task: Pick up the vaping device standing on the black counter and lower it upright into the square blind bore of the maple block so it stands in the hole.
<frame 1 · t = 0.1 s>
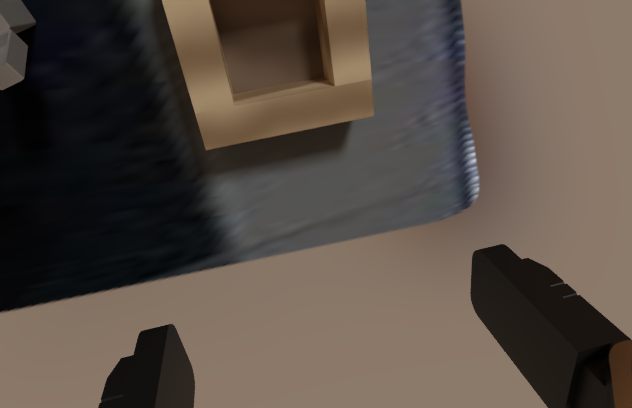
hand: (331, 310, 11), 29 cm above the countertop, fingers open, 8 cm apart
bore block: (269, 35, 35), on the countertop
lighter: (22, 20, 31), on the countertop
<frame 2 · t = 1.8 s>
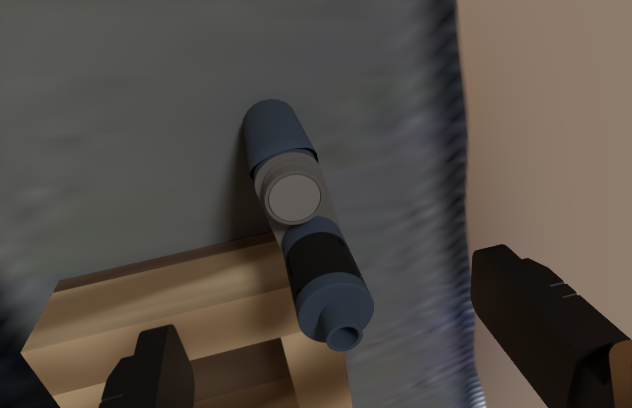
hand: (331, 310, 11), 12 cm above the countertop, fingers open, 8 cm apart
vaping device: (277, 143, 21), on the countertop
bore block: (221, 338, 27), on the countertop
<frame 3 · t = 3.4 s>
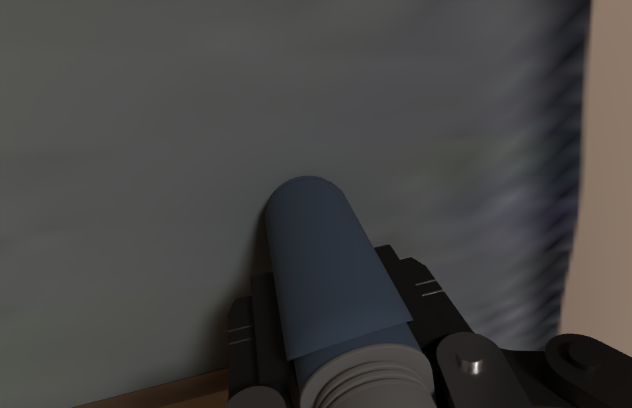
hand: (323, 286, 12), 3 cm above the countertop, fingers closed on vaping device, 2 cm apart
vaping device: (312, 234, 14), on the countertop, touching gripper
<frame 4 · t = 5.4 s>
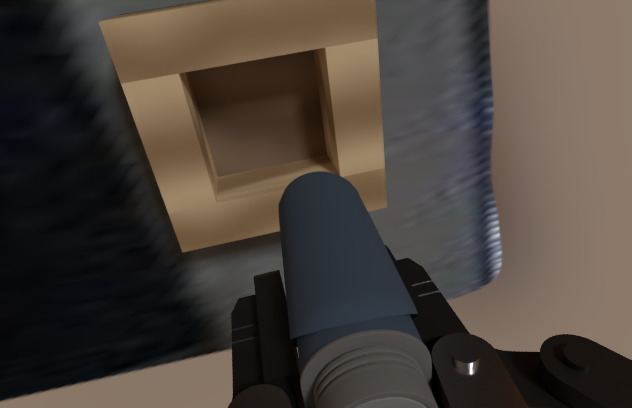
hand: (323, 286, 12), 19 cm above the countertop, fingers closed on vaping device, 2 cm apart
vaping device: (321, 230, 15), point 16 cm above the countertop, touching gripper
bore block: (260, 107, 29), on the countertop
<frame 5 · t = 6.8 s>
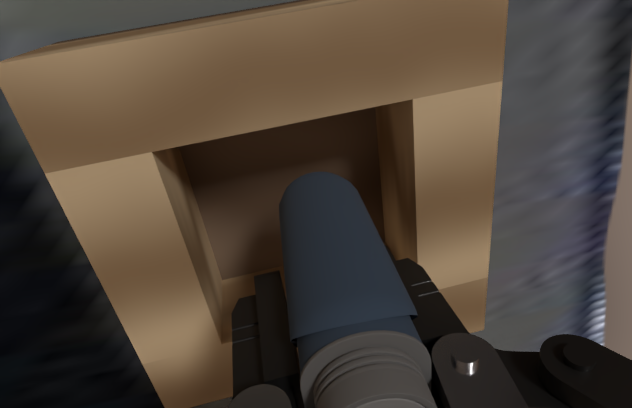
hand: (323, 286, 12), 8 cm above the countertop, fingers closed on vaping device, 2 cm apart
vaping device: (321, 230, 15), point 5 cm above the countertop, touching gripper
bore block: (287, 177, 19), on the countertop
when the fingers open (5 cm above the countertop, at t = 7.6 s): vaping device stays where it is, resting on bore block.
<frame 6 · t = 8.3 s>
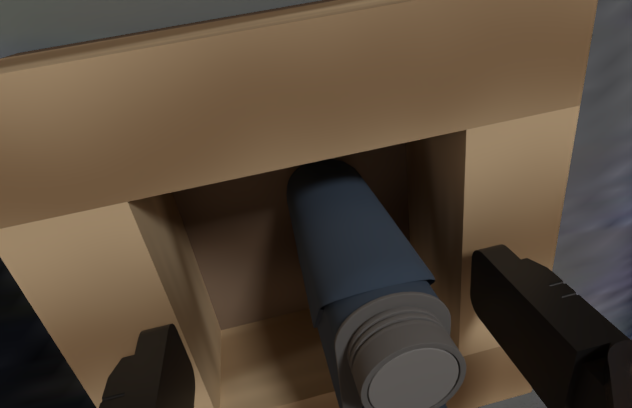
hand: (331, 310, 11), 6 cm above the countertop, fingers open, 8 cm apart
vaping device: (323, 215, 15), point 1 cm above the countertop, touching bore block
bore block: (298, 210, 16), on the countertop
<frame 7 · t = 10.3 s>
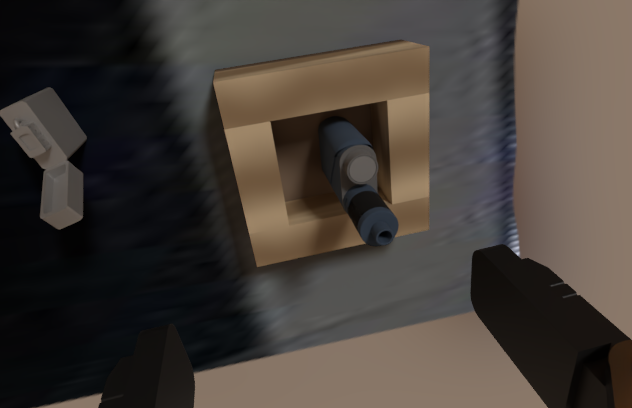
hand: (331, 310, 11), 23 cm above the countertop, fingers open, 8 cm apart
vaping device: (333, 145, 33), point 1 cm above the countertop, touching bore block
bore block: (321, 144, 34), on the countertop
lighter: (73, 136, 30), on the countertop
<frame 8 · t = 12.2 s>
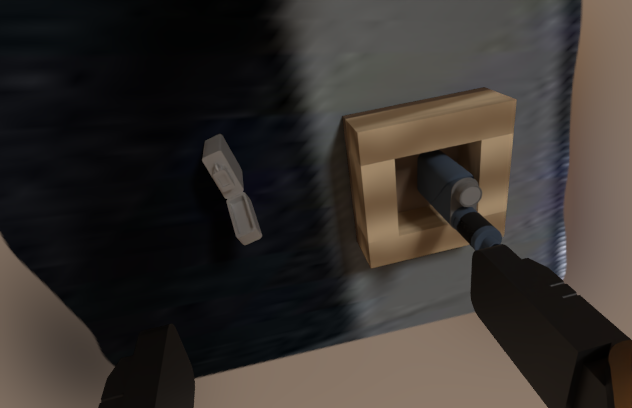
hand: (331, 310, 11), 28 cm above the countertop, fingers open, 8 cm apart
vaping device: (427, 170, 41), point 1 cm above the countertop, touching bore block
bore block: (416, 169, 42), on the countertop
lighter: (231, 169, 39), on the countertop
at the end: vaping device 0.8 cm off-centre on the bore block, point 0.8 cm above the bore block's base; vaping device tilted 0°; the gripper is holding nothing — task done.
